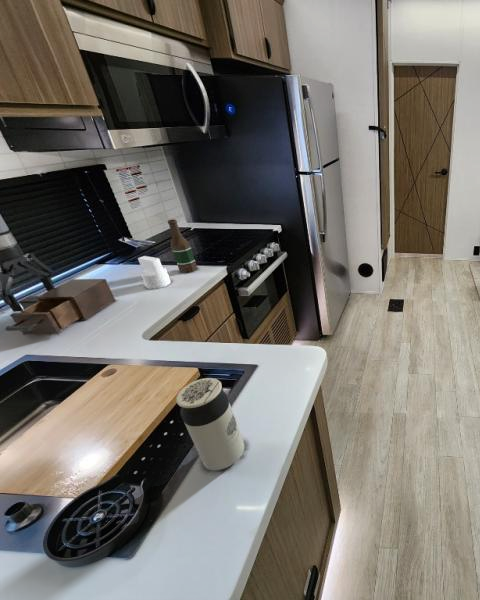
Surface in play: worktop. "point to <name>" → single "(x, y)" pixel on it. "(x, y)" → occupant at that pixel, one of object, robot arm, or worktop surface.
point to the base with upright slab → (153, 272)
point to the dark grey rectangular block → (28, 301)
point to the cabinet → (83, 295)
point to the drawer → (45, 317)
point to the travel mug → (211, 423)
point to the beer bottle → (181, 249)
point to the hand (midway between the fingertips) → (36, 301)
